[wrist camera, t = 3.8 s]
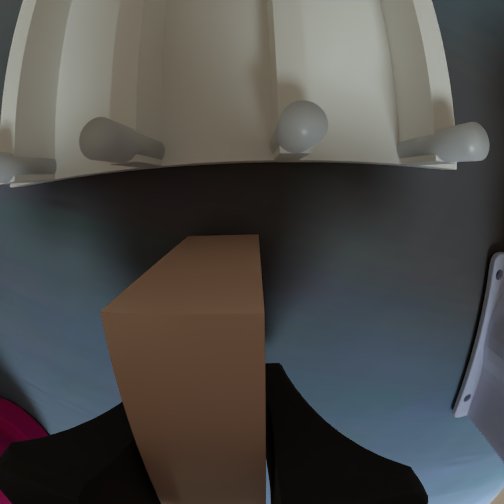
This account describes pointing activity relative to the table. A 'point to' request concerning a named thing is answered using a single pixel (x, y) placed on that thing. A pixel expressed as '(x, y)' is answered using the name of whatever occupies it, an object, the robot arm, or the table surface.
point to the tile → (196, 370)
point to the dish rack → (226, 87)
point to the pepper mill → (16, 429)
